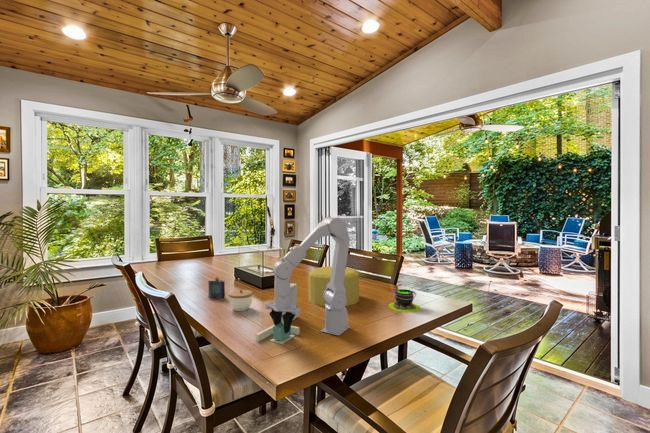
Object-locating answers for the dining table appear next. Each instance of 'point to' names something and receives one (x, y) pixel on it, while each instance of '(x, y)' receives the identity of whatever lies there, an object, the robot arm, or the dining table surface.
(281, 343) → the pad
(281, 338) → the teal brick
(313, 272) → the cheese
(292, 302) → the skincare box
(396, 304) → the toy cauldron
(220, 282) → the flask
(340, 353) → the dining table surface
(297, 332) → the corner walls
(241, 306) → the lidded jar
